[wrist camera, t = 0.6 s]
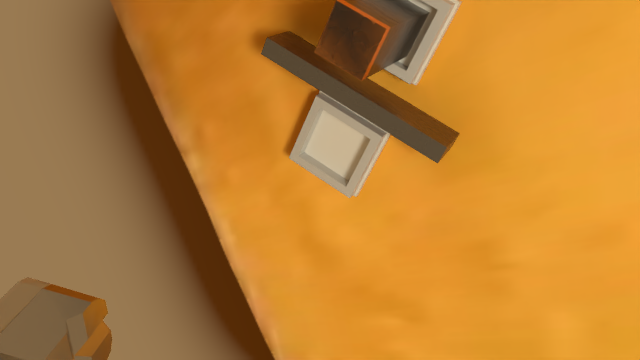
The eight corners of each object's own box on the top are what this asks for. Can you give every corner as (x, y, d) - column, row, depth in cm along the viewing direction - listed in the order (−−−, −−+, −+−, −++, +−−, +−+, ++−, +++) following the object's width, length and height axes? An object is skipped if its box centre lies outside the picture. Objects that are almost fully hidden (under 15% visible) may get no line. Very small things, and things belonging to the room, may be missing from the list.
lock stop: (387, -12, 49) (336, -1, 40) (430, 12, 48) (386, 28, 39) (367, 32, 51) (314, 52, 42) (407, 56, 50) (361, 81, 42)
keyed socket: (323, 87, 55) (314, 91, 54) (392, 130, 53) (385, 136, 52) (294, 152, 59) (285, 158, 57) (358, 194, 57) (350, 201, 56)
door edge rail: (289, 31, 55) (267, 37, 51) (459, 133, 51) (447, 147, 47) (283, 46, 55) (261, 53, 52) (450, 148, 52) (437, 163, 48)
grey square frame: (381, -43, 49) (373, -42, 47) (462, 1, 47) (456, 3, 45) (344, 40, 53) (336, 43, 51) (417, 83, 51) (411, 88, 49)
